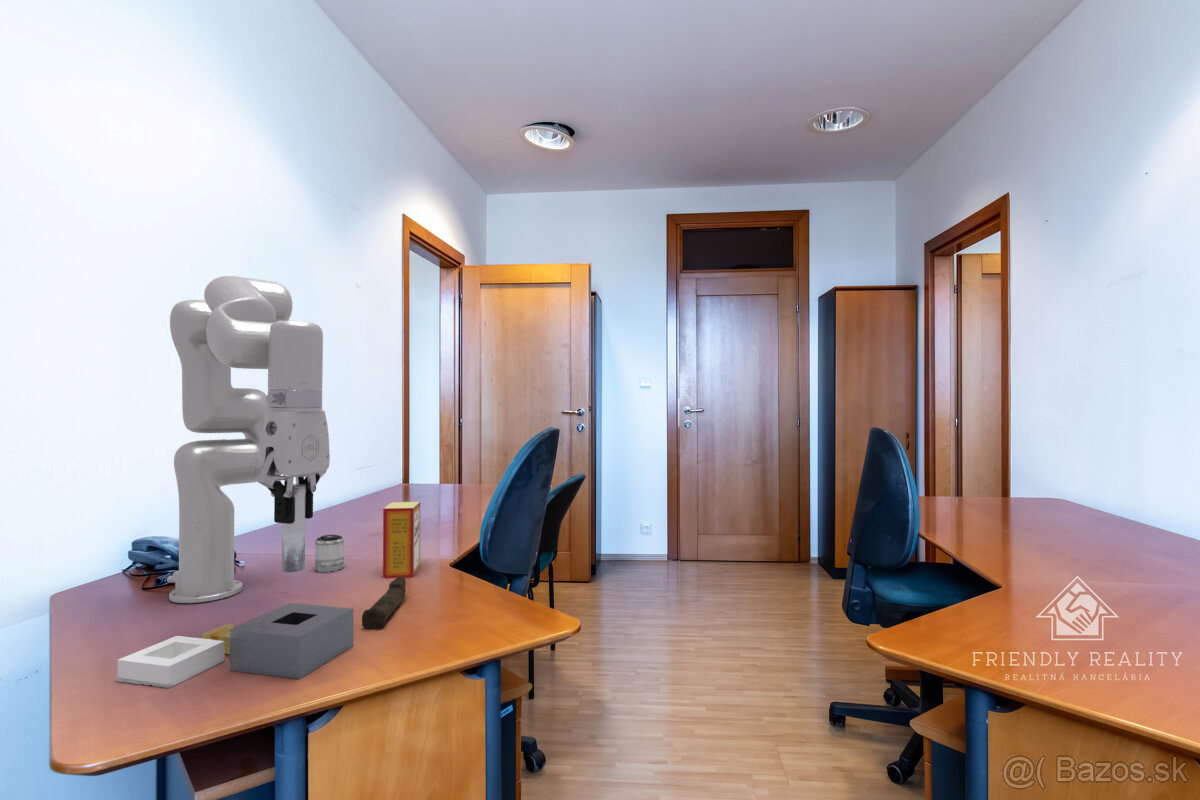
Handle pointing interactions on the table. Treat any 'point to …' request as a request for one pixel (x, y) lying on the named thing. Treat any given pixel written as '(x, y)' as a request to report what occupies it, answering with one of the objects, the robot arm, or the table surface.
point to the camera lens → (329, 553)
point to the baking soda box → (401, 539)
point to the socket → (291, 640)
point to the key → (220, 635)
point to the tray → (170, 661)
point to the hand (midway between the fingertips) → (293, 519)
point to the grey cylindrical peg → (295, 534)
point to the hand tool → (385, 605)
